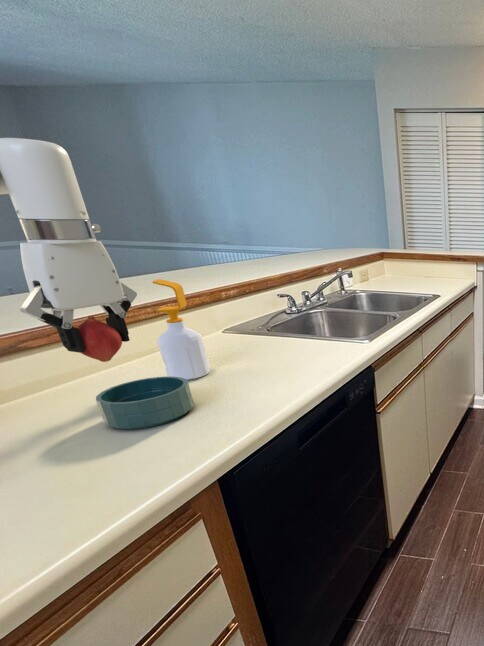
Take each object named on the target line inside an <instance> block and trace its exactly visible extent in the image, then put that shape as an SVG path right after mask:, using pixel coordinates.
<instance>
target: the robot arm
mask: <svg viewBox="0 0 484 646" xmlns="http://www.w3.org/2000/svg"><path fill="white" fill-rule="evenodd" d="M0 195H9V197H10V200H11V203H12V206H13V209H14V211H15V213H16V215H17V218H18V221H19V223H20V226H21V229H22V231H23V234H24V236H25V239H26V241H27V242H25V241H24V242H20V243H19V245H20V246H19V247H20V248H19V250H20V258H21V264H22V265H21V266H22V269H23V274H24V278H25V280H26V285H27V288H28V291H29V295H28V296H27V297H26V299H25V300H24V301H23V303H22V305H21V306H20V308H19V310H20V312H21V313H23V314H26V315H27V316H30V317H32V318H35V319H37V320H39V321H40V322H41V323H44V324H47V325H49V326H50V327H52V328H55V329H56V330H57V334H58V337H59V338H60V341H61V343H62V346H63V347H64V348H65V349H66V350H67V351H68V352H72V353H80V354H82V352H85V351H86V348H85V346H84V343H83V340H82V337H81V335H80V332H79V329H78V327H74V324H73V323H74V311H75V310H79V309H85V308H92V307H97V306H100V308H101V309H102V310H103V311H104V312H105V314H106V315H107V317H105V323H106V324H108V325H109V326H111V327H113V328H114V329H115V330H117V332H118V333H119V334H120V336H121V338H122V343H123V342H124V343H126V342H130V340H131V339H130V336H129V333H130V332H129V329H128V326H127V323H126V320H125V319H126V318H127V317H128V311H129V310H130V308H131V307H132V303H133V302H134V300H136V298H137V297H138V294H137V291H135V290H133V289H132V288H130V287H129V286H127V285H125V284H124V283H122V282H121V280H120V277H119V274H118V271H117V269H116V266H115V265H114V263H113V260H112V259H111V256H110V254H109V253H108V251H107V249H106V247H105V246H104V244H103V242H102V241H101V240H97V238H96V237H97V236H96V233H97V234H98V233H101V231H102V229H101V226H100V224H98V223H92V220H91V219H90V217H89V213H88V210H87V208H86V203H85V202H84V198H83V195H82V192H81V189H80V186H79V183H78V179H77V177H76V174H75V170H74V167H73V163H72V161H71V159H70V156H69V153H68V152H67V151H66V149H65V148H64V147H62V146H61V145H59V144H57V143H54V142H51V141H45V140H40V139H31V138H22V137H21V138H20V137H0ZM43 309H50V313H49V312H47V311H45V310H43Z"/></svg>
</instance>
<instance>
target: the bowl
mask: <svg viewBox="0 0 484 646" xmlns="http://www.w3.org/2000/svg"><path fill="white" fill-rule="evenodd" d="M188 381H189V380H186V379H184V378H181V377H168V376H155V377H146V378H141V379H136V380H132V381H131V380H130V381H127V382H123V383H119V384H117V385H114V386H111V387H109V388H107V389H105V390H102V391H100V393H98V394H97V395H96V397H95V402H96V405H97V406H98V410H99V412H100V414H101V415H100V416H101V418H102V420H103V422H104V425H106V426H108V427H109V428H116V429H120V430H139V429H147V428H152V427H156V426H160V425H165V424H167V423H170V422H172V421H175V420H177V419H179V418H181V417H183V416H184V415H186V414H187V413H188V412H189V411H190V410H192V409H193V408H194V406H195V402H194V397H193V395H192V391H191V387H190V384H189V382H188Z"/></svg>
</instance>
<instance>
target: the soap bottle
mask: <svg viewBox="0 0 484 646" xmlns="http://www.w3.org/2000/svg"><path fill="white" fill-rule="evenodd" d="M152 284H153V285H159V286H163V287H167V288H170V289H171V290H173V292H174V294H175V298H176V302H177V305H176V306H175V305H173V306H171V305H170V306H162V307H160V308H158V309H157V311H158V312H164V313H165V315H168V319H166V321H165V322H166V325H167V330H166V331H164V332H162V333H161V334H160V335H159V337H158V338H157V342H156V343H157V346H158V349H159V352H160V355H161V358H162V363H163V365H164V368H165V372H166V375H167V377H181V378H184V379H186V380H187V381H191V380H195V379H199V378H202V377H205V376H206V375H208V374H210V373H211V367H210V362H209V358H208V355H207V351H206V348H205V343H204V339H203V336H202V335H201V334H200V333H199V331H196V330H194V329H191V328H188V327H186V326H185V323H184V320H183V318H182V317H179V316H178V314H180V310H182V309H184V308H186V307H187V305H188V302H187V299H186V295H185V291H184V288H183V286H182V285H181V284H180V283H177V282H174V281H169V280H165V279H162V278H161V279H160V278H158V279H154V280H152Z"/></svg>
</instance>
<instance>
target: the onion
mask: <svg viewBox="0 0 484 646" xmlns="http://www.w3.org/2000/svg"><path fill="white" fill-rule="evenodd" d="M77 328H78V329H79V332H80V335H81V337H82V340H83V343H84V346H85V348H86V351H85V352H82V353H81V354H82V355H83V356H86V357H88V358H91V359H93V360H96V361H99V362H103V363H107V362H110V361H111V360H112V359H113V358H114V356H115V355H116V354H117V353H118V352H119V350H121V347H122V345H123V341H122V338H121V336H120V334H119V333H118V332H117V330H115V329H114V328H113V327H111V326H109V325H108V324H107V323H106V322H103V321H100V320H98V319H97V318H96V317H95V316H94V315H93V314H91V315H88V316H87V318H86V319H85V320H84V321H83V322H82V323H80V324H79V325H78V327H77Z"/></svg>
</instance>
